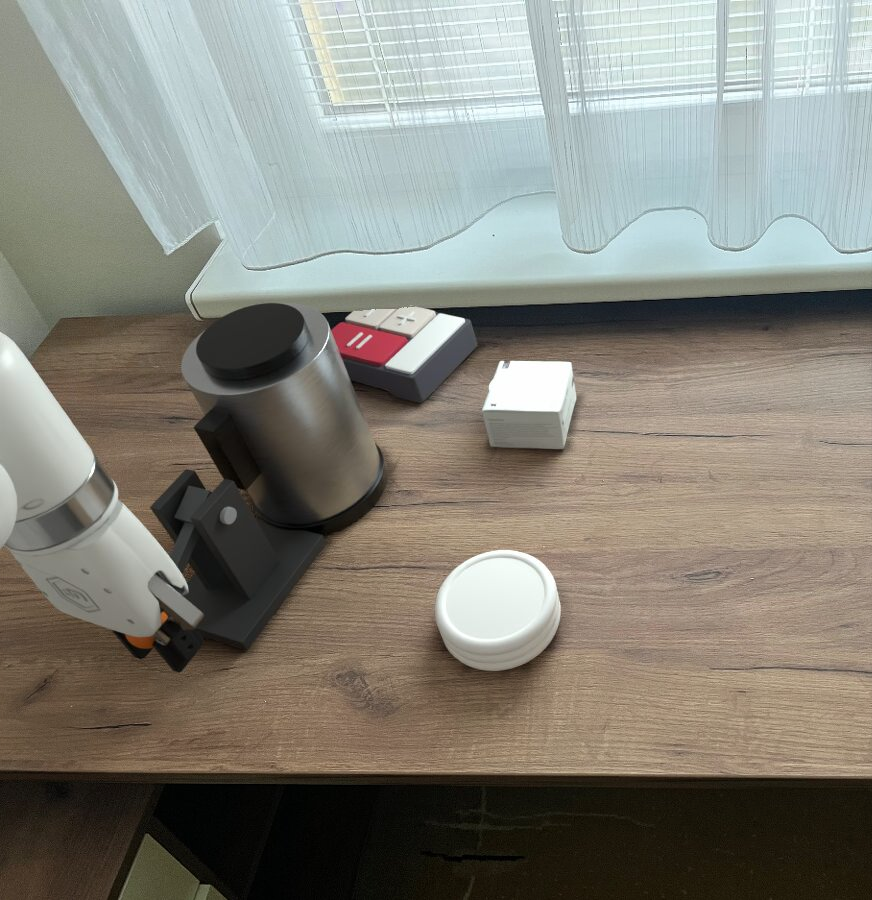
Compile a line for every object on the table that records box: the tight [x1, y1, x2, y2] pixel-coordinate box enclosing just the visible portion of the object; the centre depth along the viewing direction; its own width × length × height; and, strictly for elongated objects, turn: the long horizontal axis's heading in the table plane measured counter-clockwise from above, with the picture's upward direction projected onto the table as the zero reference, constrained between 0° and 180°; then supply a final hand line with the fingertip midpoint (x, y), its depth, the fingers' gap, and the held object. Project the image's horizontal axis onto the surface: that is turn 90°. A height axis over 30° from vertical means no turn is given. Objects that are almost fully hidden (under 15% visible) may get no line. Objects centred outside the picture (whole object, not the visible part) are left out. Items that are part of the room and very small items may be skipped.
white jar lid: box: [434, 549, 562, 672], centre depth 71 cm, size 10×10×4 cm
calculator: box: [331, 306, 478, 404], centre depth 98 cm, size 11×4×15 cm
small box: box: [481, 360, 577, 450], centre depth 88 cm, size 8×8×5 cm
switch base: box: [149, 468, 327, 651], centre depth 74 cm, size 12×9×12 cm
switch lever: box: [125, 486, 213, 649], centre depth 70 cm, size 13×3×3 cm, turn 158°
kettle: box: [180, 302, 389, 536], centre depth 79 cm, size 15×13×19 cm
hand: (170, 649), depth 71 cm, fingers closed on switch lever, 3 cm apart
